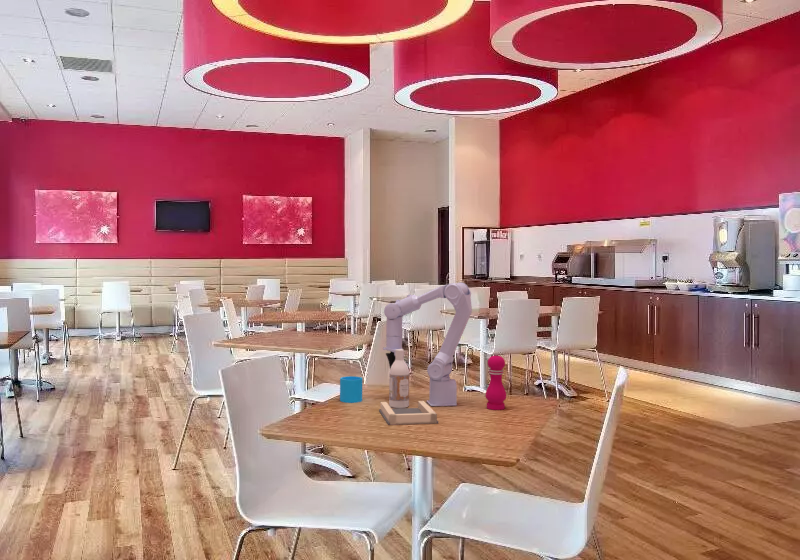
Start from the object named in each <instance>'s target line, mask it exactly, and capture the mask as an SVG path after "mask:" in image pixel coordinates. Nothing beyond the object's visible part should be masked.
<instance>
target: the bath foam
mask: <svg viewBox="0 0 800 560" xmlns="http://www.w3.org/2000/svg"><path fill="white" fill-rule="evenodd" d="M404 357H405V350H404V348H402V349H396V351H395V361H394V363H393V364H392V366H391V368H390V367H389V376H388V377H389V379H388V381H389V382H388V383H389V384H388V385H389V386H388V387H389V388H388V389H389V390H388V392H389V395H388V396H389V398H388V401H389V402H388V405H389V406H390V407H391V408H392V409H399V408H408V407H409V406H410V370H409V367H408V364H407V363H406V362H405V360H404V359H405V358H404Z"/></svg>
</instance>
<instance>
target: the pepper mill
mask: <svg viewBox="0 0 800 560" xmlns="http://www.w3.org/2000/svg"><path fill="white" fill-rule="evenodd" d="M493 354H494V355H492V356H490V357H489V358H488V359H487V366H488V367H489V369H488V371H489V372H488V374H489V375H490V378H489V379H490V380H489V384H488V386H487V388H486V391H485V396H484V397H485V399H486V400H487V402H486V409H488V410H493V411H502V410H505V408H506V404H505V402H504V401H505V400H506V399H507V392H506V389H505V387H504V384H503V374H504V368H505V365H506V360H505V358H504V357H502V356H501V355H500V352H499V350H495V351H494V352H493Z"/></svg>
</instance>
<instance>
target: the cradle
mask: <svg viewBox="0 0 800 560" xmlns="http://www.w3.org/2000/svg"><path fill="white" fill-rule="evenodd" d="M378 412H379V413H380V415H381V417H382V418H383V419H384V421H385V422H386V424H387V425H388V426H396V425H397V426H400V425H402V426H403V425H405V426H406V425H430V424H434V425H436V424H439V420H438V413H437V412H436V411H435V410H433V408H432V407H431V406H430V405H429V404H428V403H427V402H425V401H424V400H418V401H417V407H409V408H408V407H406V408H392V407H390V406H389V402H387V401H380V407H379V408H378Z"/></svg>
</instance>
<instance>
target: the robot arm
mask: <svg viewBox="0 0 800 560" xmlns="http://www.w3.org/2000/svg"><path fill="white" fill-rule="evenodd" d="M471 295H472V292H471V290H470V288H469V286H468V285H467V284H466V283H464V282H451V283H447V284H444V285H440V286H437V287H435V288H433V289H431V290H429V291H426V292H424V293H422V294H421V295H416V294H410V293H409V294H408V295H407V294H406V297H404V298H402V299H395V302H389V303H388V304H387V305H386V306H385V307H384V309H383V314H384V317H385V318H386V335H385V336H386V338H385V339H386V341H385V344H386V345H385V346H384V347H383V348H382V350H384V351H388V352H386V353H385V356H386V357H387V360H388V364H389V365H388V366H389V369H390V368H391V366H392V364H393V363H394V361H395V351H396V349H403V317H404V316H406V315H408V314H411V313H412V312H413V313H414V312H416V311H418V310H420V308H421V306H422V305H424V304H425V303H428V302H431V301H434V300H436V299H439V298H441V299H446V300H447V301H448V302H449V303H450V304H451V305H452V306H453V308H454V311H455V313H454V316H453V318H452V321H451V324H450V325H449V327H448V330H447V333H446V334H445V338H444V340H443V342H442V345H441V346H440V349H439V351H438V353H437V354H436V355H435V357H434V358H433V361H432V362H430V364H428V366H427V369H426V370H427V371H426V372H427V374H428V375H427V376H429V393H428V394H429V396H428V397H429V399H427V400H426V402H425V403H426V404H427V405H428V406H429V407H446V406H447V407H449V406H454V407H455V406H458V404H457V397H458V396H457V394H458V393H457V389H458V386H457V385H458V384H457V381H456V379H455V378H451V377H450V374H451V373H452V371H453V362H454V355H455V353H456V350H457V347H458V346H459V343H460V341H461V338H462V336H463V334H464V331H465V328H466V326H467V324H468V322H469V320H470V318H471V315H472V313H473V312H472V311H473V306H472V299H471V298H472V297H471Z"/></svg>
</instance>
